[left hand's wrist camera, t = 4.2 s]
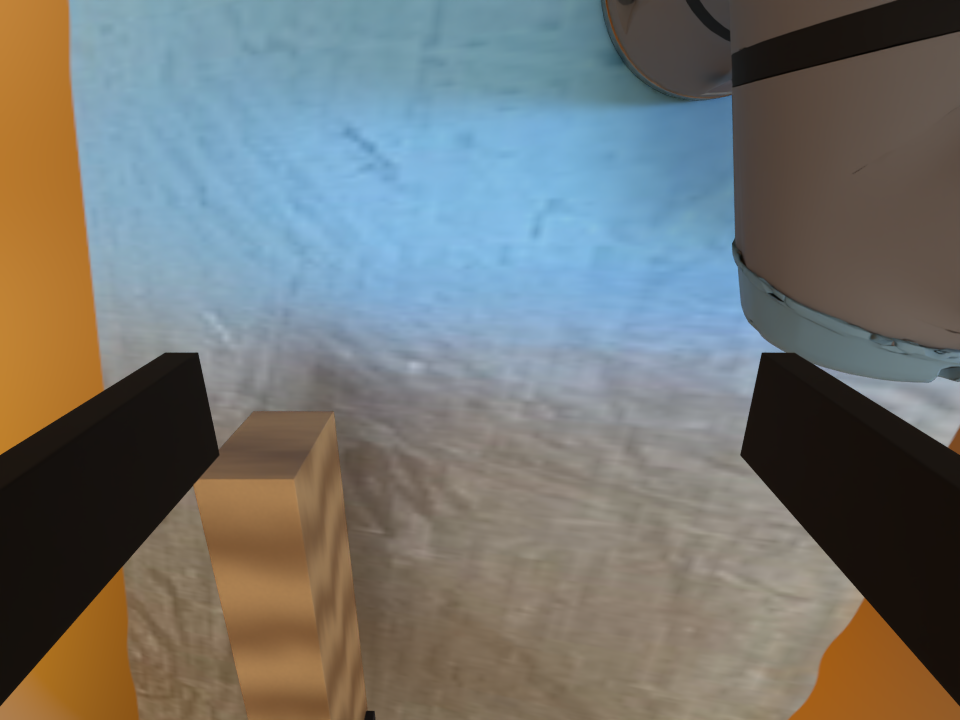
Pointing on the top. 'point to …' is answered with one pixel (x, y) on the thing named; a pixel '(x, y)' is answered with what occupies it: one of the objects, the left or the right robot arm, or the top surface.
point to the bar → (285, 567)
